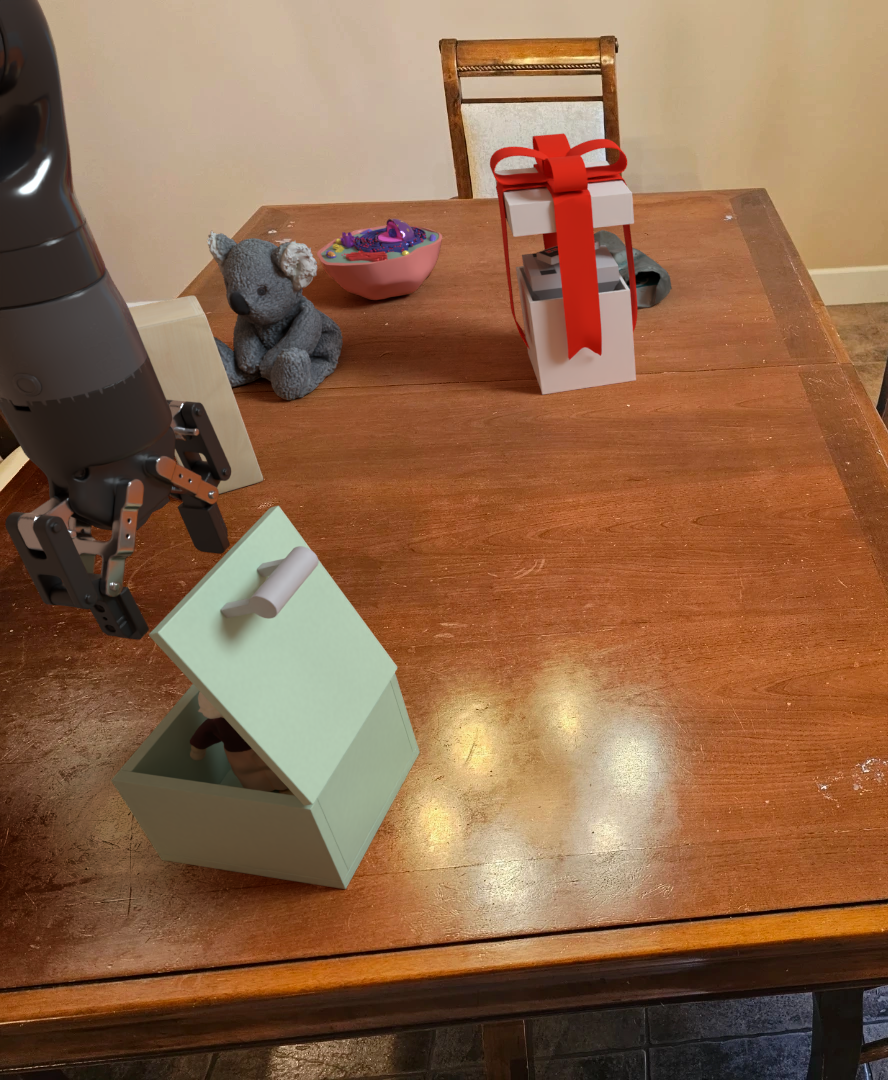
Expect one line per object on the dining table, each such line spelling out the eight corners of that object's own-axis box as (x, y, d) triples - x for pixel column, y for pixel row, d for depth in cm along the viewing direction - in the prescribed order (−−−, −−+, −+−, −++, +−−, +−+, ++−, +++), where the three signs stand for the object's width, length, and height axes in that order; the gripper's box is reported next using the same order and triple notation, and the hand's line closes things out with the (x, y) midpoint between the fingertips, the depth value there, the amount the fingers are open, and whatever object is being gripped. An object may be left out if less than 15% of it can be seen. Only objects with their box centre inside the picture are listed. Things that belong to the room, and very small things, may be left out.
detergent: (682, 305, 149) (637, 250, 168) (678, 263, 145) (631, 211, 163) (605, 324, 146) (567, 266, 165) (597, 281, 142) (559, 227, 160)
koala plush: (195, 390, 128) (140, 251, 116) (277, 336, 141) (236, 206, 129) (303, 406, 124) (258, 264, 112) (377, 349, 138) (344, 217, 126)
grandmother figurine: (318, 757, 76) (271, 645, 68) (323, 792, 73) (275, 679, 65) (216, 789, 73) (155, 676, 65) (217, 827, 70) (154, 714, 63)
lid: (147, 634, 53) (212, 622, 51) (269, 507, 63) (327, 493, 61) (303, 805, 61) (364, 799, 60) (390, 669, 71) (443, 660, 70)
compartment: (161, 860, 69) (110, 780, 63) (257, 729, 79) (220, 650, 73) (345, 889, 67) (310, 809, 61) (420, 752, 77) (395, 672, 71)
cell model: (311, 293, 154) (292, 225, 148) (420, 263, 165) (407, 199, 158) (356, 324, 144) (337, 253, 138) (469, 290, 155) (457, 223, 148)
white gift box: (625, 334, 141) (609, 124, 123) (653, 384, 128) (640, 158, 110) (513, 350, 137) (479, 135, 119) (530, 403, 124) (495, 172, 106)
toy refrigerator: (253, 453, 114) (193, 291, 102) (266, 480, 110) (205, 314, 97) (183, 473, 111) (112, 307, 98) (193, 502, 106) (120, 332, 93)
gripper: (97, 305, 56) (190, 520, 66) (-106, 422, 45) (42, 660, 55) (209, 314, 55) (287, 531, 65) (30, 435, 44) (156, 675, 54)
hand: (175, 590), depth 60 cm, fingers open, 8 cm apart
